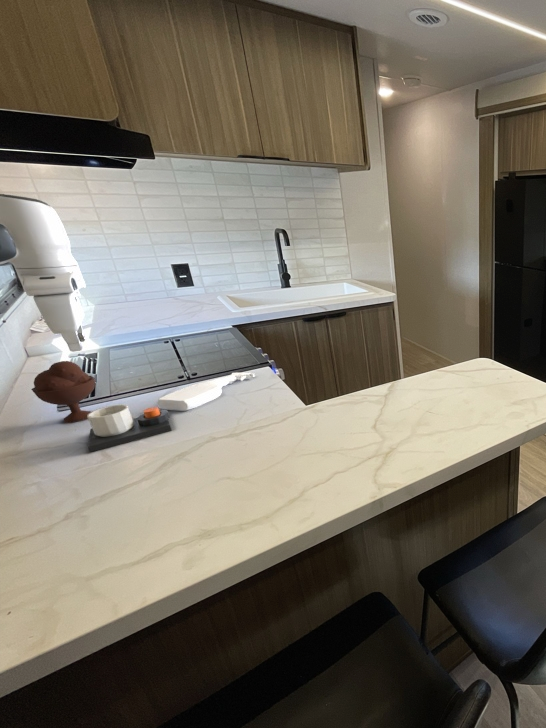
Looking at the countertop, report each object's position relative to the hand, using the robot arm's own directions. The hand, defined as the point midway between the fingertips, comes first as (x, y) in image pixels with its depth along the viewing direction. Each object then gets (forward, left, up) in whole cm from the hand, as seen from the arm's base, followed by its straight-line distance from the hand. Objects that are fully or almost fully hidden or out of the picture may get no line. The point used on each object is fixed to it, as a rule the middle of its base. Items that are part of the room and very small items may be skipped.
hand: (78, 345), depth 87 cm
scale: (+3, -3, -21) cm, 22 cm away
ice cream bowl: (-7, +17, -21) cm, 28 cm away
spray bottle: (+21, +12, -21) cm, 32 cm away
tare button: (+8, -3, -19) cm, 20 cm away
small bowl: (+1, -3, -20) cm, 20 cm away
